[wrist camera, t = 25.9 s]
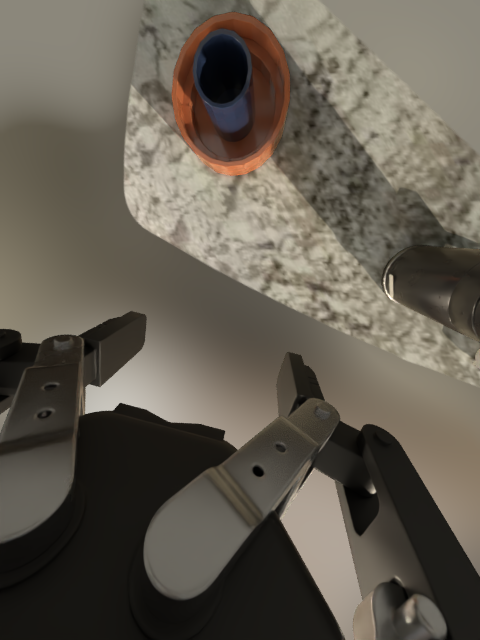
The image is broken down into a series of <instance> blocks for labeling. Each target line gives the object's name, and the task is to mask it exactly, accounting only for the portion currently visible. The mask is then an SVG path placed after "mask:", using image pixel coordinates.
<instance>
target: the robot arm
mask: <svg viewBox="0 0 480 640" xmlns="http://www.w3.org/2000/svg"><path fill="white" fill-rule="evenodd" d="M382 288H383V291H384V293H385V294H386V295H387V297H388V298H390V299H391V300H393V301H394V302H396V303H399V304H402V305H404V306H406V307H408V308H410V309H412V310H414V311H416V312H418V313H420V314H422V315H424V316H426V317H428V318H430V319H432V320H434V321H436V322H438V323H441V324H443V325H445V326H447V327H449V328H451V329H453V330H455V331H457V332H459V333H461V334H463V335H465V336H467V337H469V338H472V339H474V340H476V341H478V342H480V249H467V248H449V247H433V246H427V245H417V246H412V247H409V248H406V249H404V250H402V251H400V252H399V253H397V254H396V255H395V256H394V257H393V258H392V259H391V260H390V261H389V262H388V264H387V265H386V267H385V269H384V272H383V275H382ZM145 331H146V315H145V314H140V313H137V312H133V311H130V312H129V313H127V314H125V315H123V316H122V317H117V318H113V319H109V320H107V321H106V322H103V323H102V324H99V325H98V326H96V327H94V328H92V329H90V330H88V331H86V332H84V333H82V334H81V335H79V336H76V335H57V336H53V337H49V338H47V339H45V340H44V341H42V343H41V344H37V343H22V339H21V334H20V333H19V332H18V331H15V330H11V329H0V414H1V413H3V412H4V411H5V410H7V409H8V408H10V410H9V412H8V414H7V417H6V420H5V422H4V425H3V428H2V430H1V433H0V640H345V638H344V635H343V633H342V631H341V629H340V627H339V625H338V623H337V621H336V619H335V617H334V615H333V613H332V612H331V610H330V608H329V606H328V604H327V603H326V601H325V599H324V597H323V595H322V594H321V592H320V590H319V588H318V586H317V585H316V583H315V581H314V579H313V578H312V576H311V574H310V572H309V570H308V569H307V567H306V565H305V563H304V561H303V560H302V558H301V556H300V554H299V552H298V551H297V549H296V547H295V545H294V544H293V542H292V540H291V538H290V537H289V535H288V533H287V531H286V529H285V528H284V526H283V524H282V522H281V520H282V518H283V517H284V515H285V513H286V512H287V510H288V508H289V506H290V505H291V503H292V501H293V500H294V499H295V497H296V495H297V494H298V493H299V491H300V490H301V488H302V487H303V485H304V484H305V482H306V481H307V479H308V478H309V476H310V475H311V474H312V472H313V471H314V469H316V470H318V471H320V472H321V473H323V474H325V475H327V476H328V477H330V478H332V479H333V480H335V484H336V489H337V493H338V497H339V501H340V506H341V510H342V514H343V519H344V523H345V527H346V531H347V535H348V539H349V544H350V548H351V553H352V556H353V561H354V565H355V570H356V574H357V579H358V582H359V587H360V591H361V596H362V600H363V601H362V602H361V603H360V604H359V605H358V606H357V608H356V610H355V612H354V617H353V633H354V640H480V577H479V575H478V573H477V572H476V570H475V568H474V567H473V565H472V563H471V562H470V560H469V558H468V557H467V555H466V553H465V552H464V550H463V548H462V547H461V545H460V543H459V542H458V540H457V538H456V536H455V535H454V533H453V532H452V530H451V528H450V526H449V525H448V523H447V521H446V520H445V518H444V516H443V515H442V513H441V511H440V510H439V508H438V506H437V505H436V503H435V502H434V500H433V498H432V496H431V495H430V493H429V492H428V490H427V488H426V487H425V485H424V483H423V481H422V480H421V478H420V477H419V475H418V473H417V472H416V470H415V468H414V466H413V465H412V463H411V461H410V460H409V458H408V456H407V455H406V453H405V451H404V450H403V448H402V446H401V445H400V443H399V442H398V441H397V440H396V439H395V437H393V436H392V435H391V434H390V433H389V432H387V431H386V430H384V429H382V428H380V427H378V426H375V425H372V424H366V425H364V426H363V427H362V429H361V431H359V430H357V429H355V428H353V427H351V426H349V425H347V424H345V423H343V422H341V421H340V415H339V413H338V412H337V410H336V409H335V408H334V407H333V406H332V405H330V404H329V403H327V402H325V400H324V397H323V394H322V392H321V389H320V386H319V384H318V381H317V378H316V375H315V373H314V372H313V371H312V369H311V368H310V367H309V366H306V365H304V363H303V359H302V356H301V355H298V354H294V353H290V352H287V353H286V355H285V358H284V361H283V363H282V366H281V369H280V372H279V375H278V378H277V384H276V387H277V399H278V413H279V417H278V418H276V419H275V420H274V421H273V422H272V423H270V424H269V425H268V426H267V427H266V428H264V429H263V430H262V431H261V432H259V433H258V434H257V435H256V436H255V437H254V438H252V439H251V440H250V441H249V442H247V443H246V444H245V445H244V446H242V447H241V448H240V449H239V450H237V449H236V448H235V447H234V446H233V445H231V444H230V443H228V442H227V441H225V440H223V439H224V434H225V431H224V430H221V429H217V428H213V427H209V426H205V425H202V424H191V423H171V422H168V421H166V420H164V419H162V418H160V417H158V416H156V415H155V414H153V413H151V412H149V411H147V410H145V409H141V408H138V407H134V406H130V405H126V404H122V403H120V404H119V405H118V406H117V407H116V408H115V410H113V411H99V412H93V413H88V414H85V393H86V392H85V387H86V386H87V385H88V384H91V385H95V386H98V387H101V386H102V385H103V384H104V383H105V382H106V381H107V380H108V379H109V378H111V377H112V376H113V375H114V374H115V373H116V372H117V371H118V370H119V369H120V368H121V367H123V366H124V365H125V364H126V363H127V362H128V361H129V360H130V359H131V358H133V357H134V356H135V355H136V354H137V353H138V352H139V351H140V350H141V349H142V347H143V345H144V342H145Z"/></svg>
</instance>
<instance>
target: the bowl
mask: <svg viewBox="0 0 480 640" xmlns="http://www.w3.org/2000/svg"><path fill="white" fill-rule="evenodd" d="M221 28H224V29H228V30H232V31H235V32H236V33H237V34H238V35H239V36H240V37H241V38H242V39H244V41H245V43H246V45H247V47H248V49H249V51H250V54H251V62H252V72H253V86H254V99H255V121H254V125H253V127H252V129H251V131H250V133H249V134H248V135H247V136H246V137H245V138H244V139H242V140H240V141H237V142H229V141H226V140H224V139H223V138H221V137H220V136H219V135H218V133H217V132H216V130H215V128H214V126H213V124H212V122H211V120H210V118H209V115H208V113H207V111H206V109H205V107H204V105H203V102H202V100H201V98H200V96H199V94H198V92H197V89H196V87H195V83H194V77H193V62H194V55H195V53H196V51H197V48H198V46H199V44H200V42H201V41H202V40H203V39H204V38H205V37H206V36H207V35H208V34H209V33H210V32H212V31H215V30H218V29H221ZM172 101H173V108H174V114H175V119H176V122H177V124H178V126H179V129H180V131H181V134H182V136H183V138H184V139H185V141H186V142H187V143H188V145H189V146H190V147H191V148H192V150H193V151H194V152H195V154H196V155H197V156H198V157H199V158H200V160H201V161H202V162H203V163H204V164H205V165H207V166H208V167H210V168H211V169H213V170H214V171H216V172H218V173H222V174H226V175H230V176H233V175H241V174H247V173H249V172H251V171H253V170H255V169H256V168H258V167H260V166H261V165H262V164H263V163H264V162H265V161H266V160H267V159H268V158H269V157H270V156H271V155H272V154H273V152H274V151H275V149H276V147H277V145H278V143H279V141H280V140H281V138H282V134H283V130H284V126H285V122H286V118H287V112H288V107H289V101H290V73H289V69H288V65H287V62H286V58H285V54H284V51H283V49H282V47H281V45H280V44H279V42H278V41H277V39H276V37H275V36H274V34H273V33H272V31H271V30H270V29H269V28H268V27H267V26H265V25H264V24H263V23H261V22H260V21H259V20H257V19H256V18H255V17H253V16H250V15H246V14H241V13H237V12H229V13H225V14H220V15H216V16H213V17H211V18H210V19H208V20H207V21H206V22H204V23H203V24H201V25H200V26H199V27H197V28H196V29H195V30H194V31H193V33H192V34H191V36H190V37H189V38H188V40H187V41H186V43H185V44H184V45H183V47H182V49H181V52H180V55H179V58H178V60H177V63H176V66H175V69H174V75H173V86H172Z"/></svg>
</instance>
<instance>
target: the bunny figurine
mask: <svg viewBox="0 0 480 640" xmlns="http://www.w3.org/2000/svg"><path fill="white" fill-rule="evenodd" d="M473 364H474V365H475V366H476V367H478V368H479V369H480V349H478V351H477V353H476V356H475V361H474V362H473Z"/></svg>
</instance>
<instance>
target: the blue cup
mask: <svg viewBox="0 0 480 640" xmlns="http://www.w3.org/2000/svg"><path fill="white" fill-rule="evenodd" d="M193 77H194V83H195V87H196V89H197V92H198V94H199V96H200V98H201V100H202V102H203V105H204V107H205V109H206V111H207V113H208V115H209V118H210V120H211V122H212V124H213V126H214V128H215V130H216V132H217V133H218V135H219V136H220V137H221V138H223V139H224V140H226V141H229V142H237V141H240V140H242V139H244V138H245V137H246V136H247V135H248V134H249V133H250V131H251V129H252V127H253V125H254V121H255V99H254V86H253V72H252V62H251V54H250V51H249V49H248V47H247V45H246V43H245V41H244V39H242V38H241V37H240V36H239V35H238V34H237V33H236V32H235V31H232V30H228V29H224V28H221V29H218V30H215V31H212V32H210V33H209V34H208V35H207V36H206V37H205V38H204V39H203V40H202V41H201V42H200V44H199V46H198V48H197V51H196V53H195V55H194V62H193Z"/></svg>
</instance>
